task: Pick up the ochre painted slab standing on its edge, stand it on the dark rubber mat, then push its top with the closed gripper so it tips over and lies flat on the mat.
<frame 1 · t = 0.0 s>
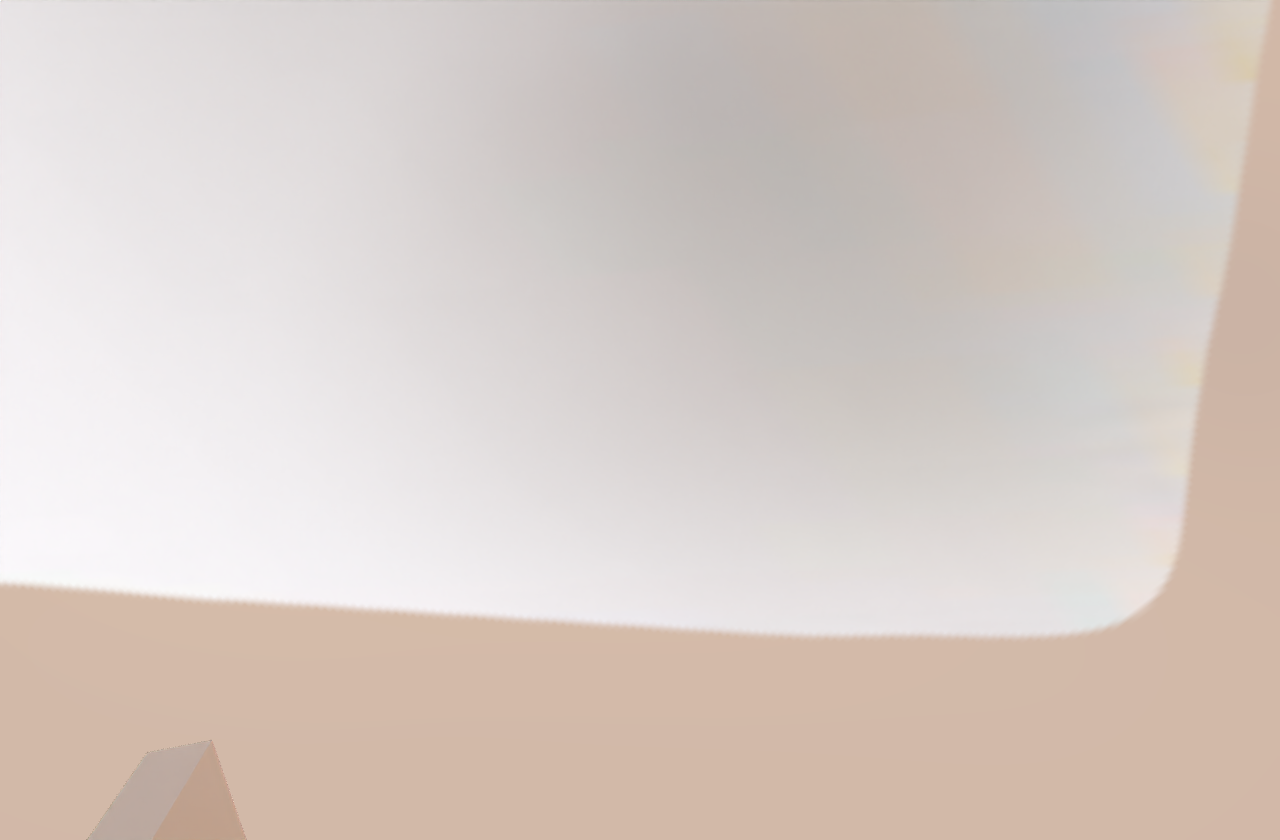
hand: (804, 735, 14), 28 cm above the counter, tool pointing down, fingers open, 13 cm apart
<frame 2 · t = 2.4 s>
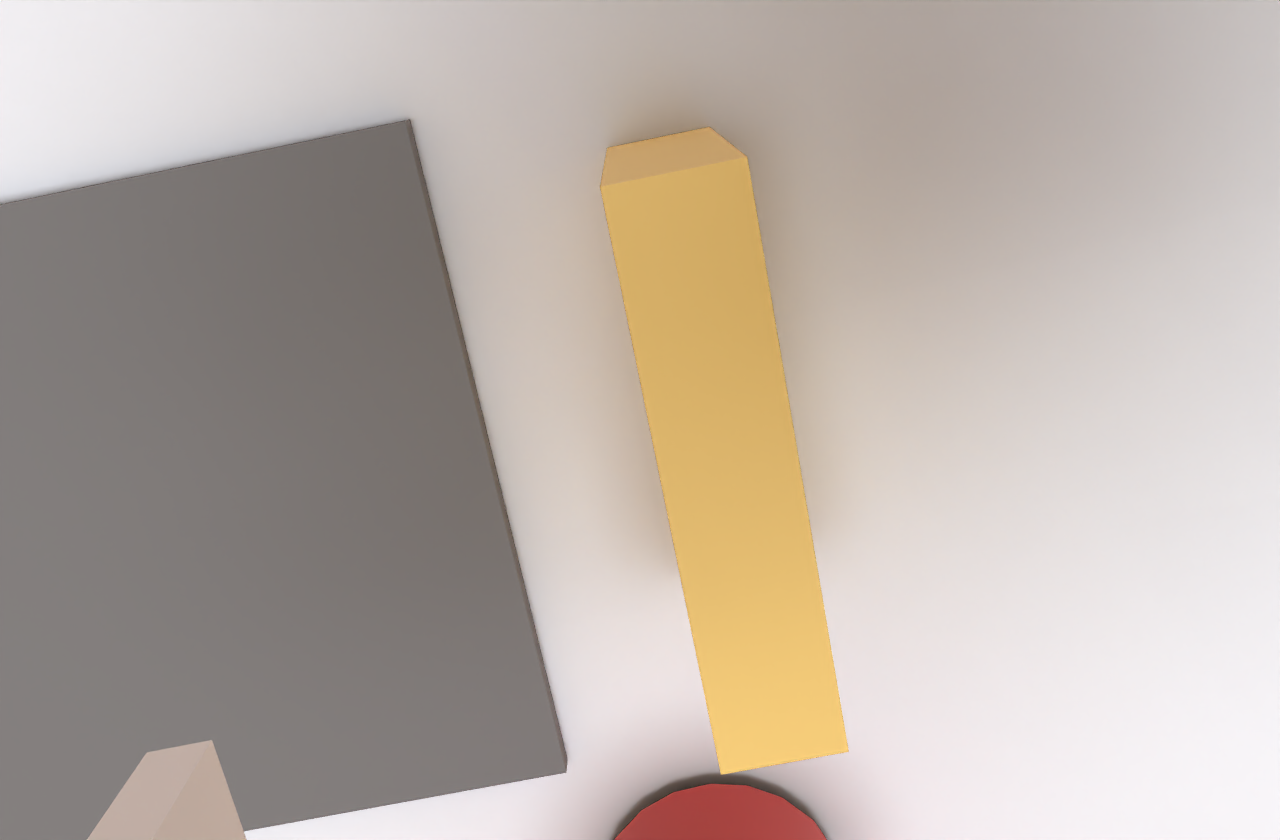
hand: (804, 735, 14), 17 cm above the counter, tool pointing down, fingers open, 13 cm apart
slab: (701, 364, 30), on the counter
mat: (164, 529, 31), on the counter
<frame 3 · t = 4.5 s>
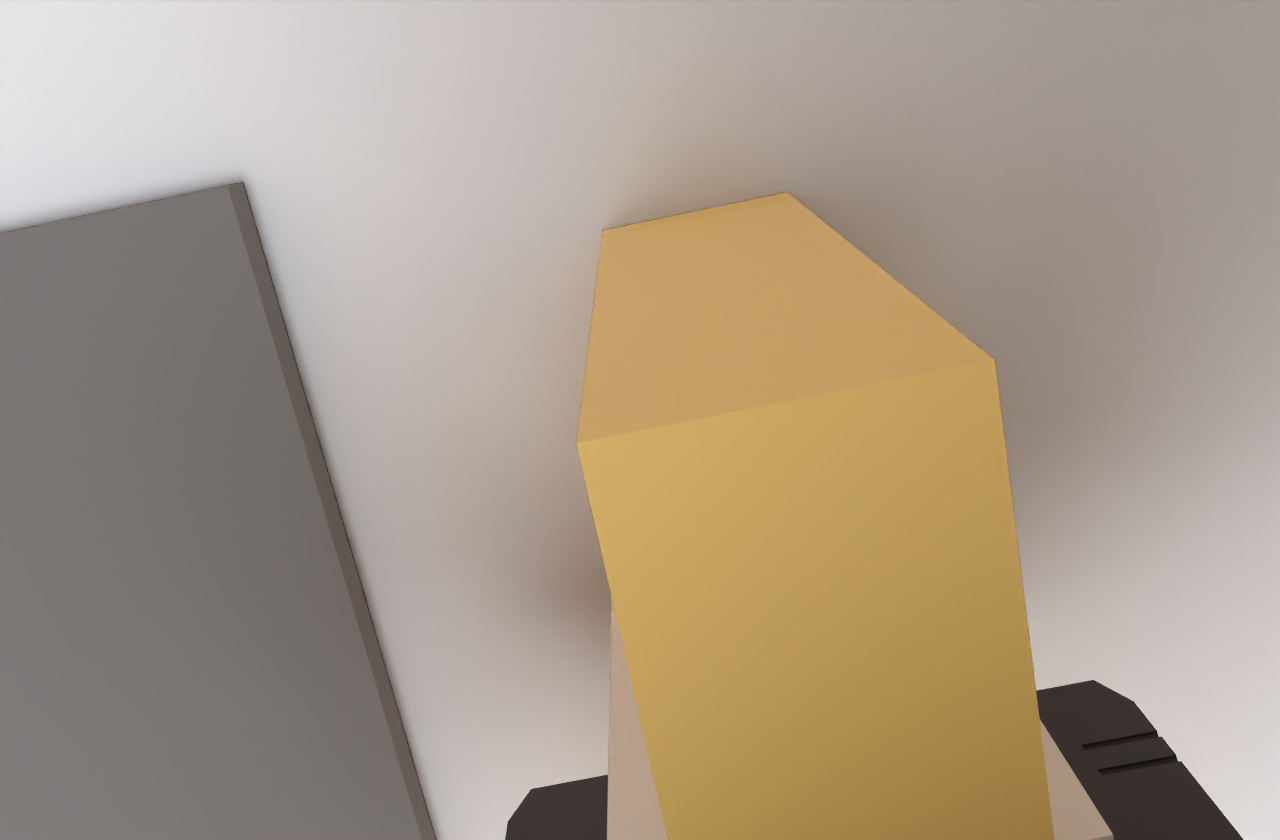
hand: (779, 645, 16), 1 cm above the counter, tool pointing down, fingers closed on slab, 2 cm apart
slab: (768, 598, 17), on the counter, touching gripper
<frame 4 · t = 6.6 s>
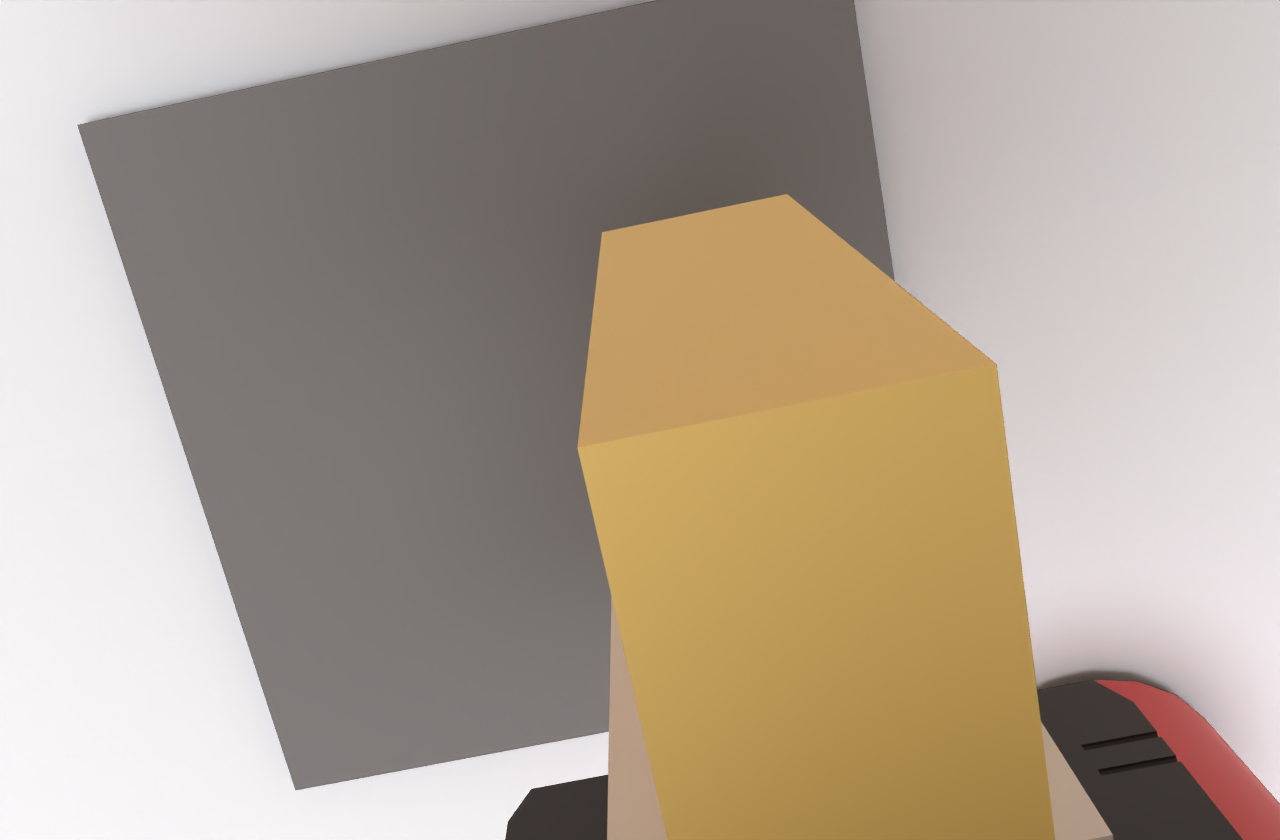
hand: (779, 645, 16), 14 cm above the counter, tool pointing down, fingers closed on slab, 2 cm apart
slab: (767, 600, 17), point 12 cm above the counter, touching gripper
mat: (546, 408, 29), on the counter
beer can: (1087, 775, 32), on the counter
when the fingers open (3 cm above the counter, at t = 8.6 s): slab stays where it is, resting on mat.
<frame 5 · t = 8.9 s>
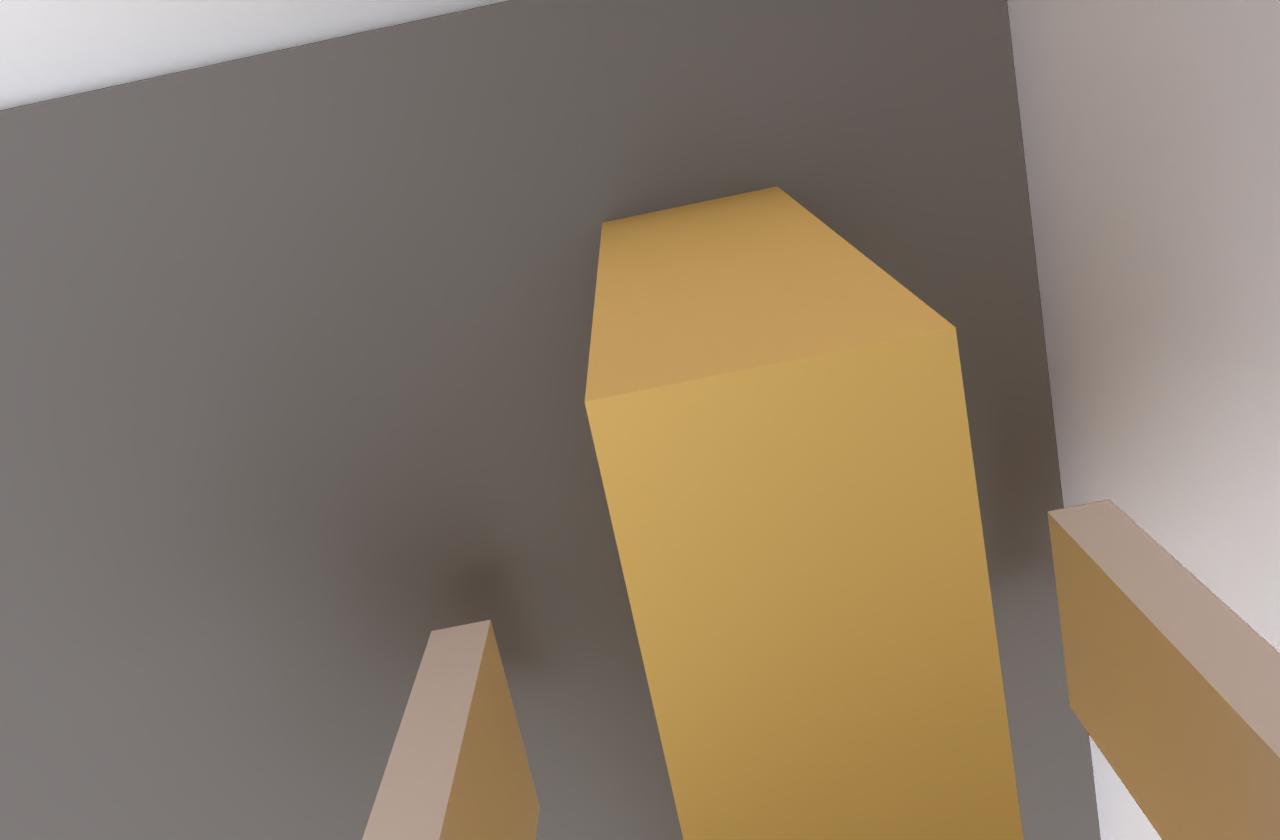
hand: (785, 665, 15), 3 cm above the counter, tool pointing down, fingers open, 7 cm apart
slab: (759, 573, 18), point 1 cm above the counter, touching mat
mat: (499, 606, 19), on the counter
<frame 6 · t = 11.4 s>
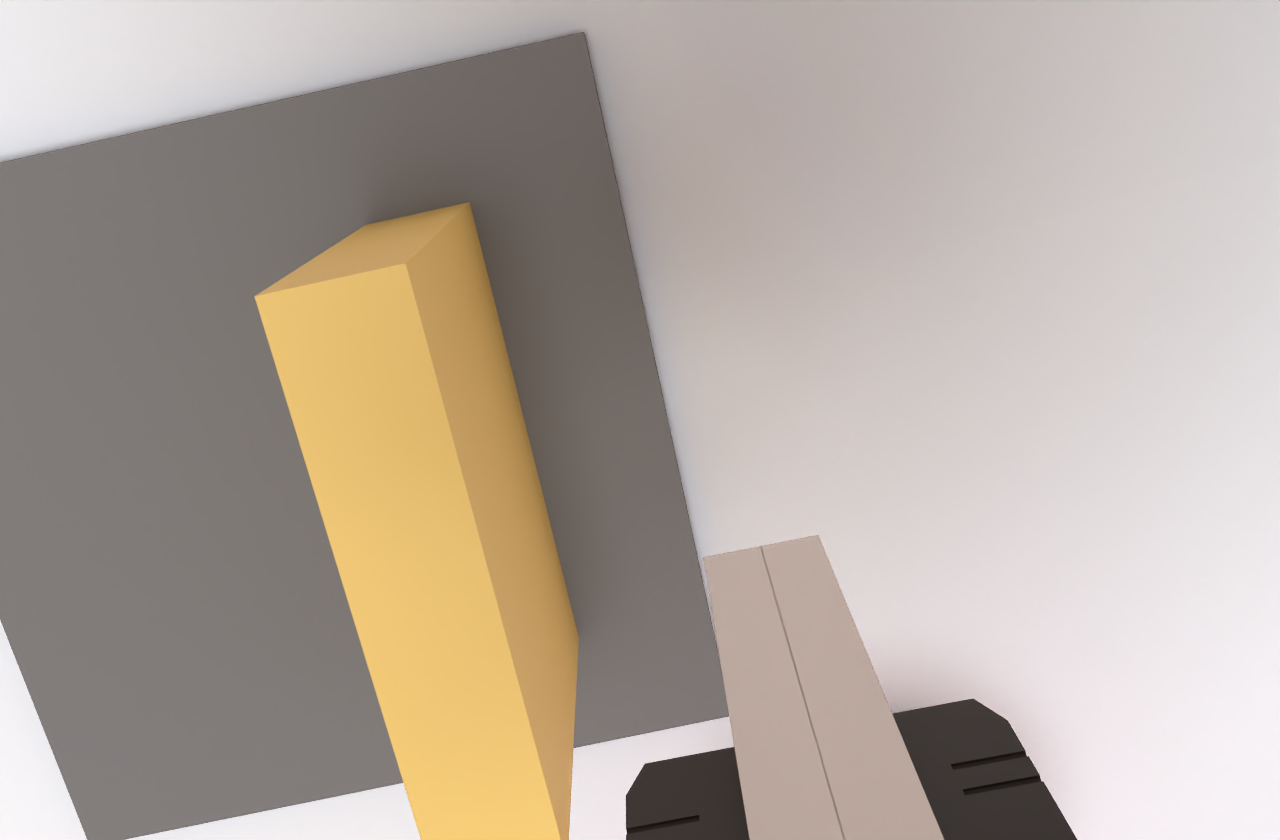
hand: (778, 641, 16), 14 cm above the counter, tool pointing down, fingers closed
slab: (477, 441, 29), point 1 cm above the counter, touching mat
mat: (320, 468, 30), on the counter
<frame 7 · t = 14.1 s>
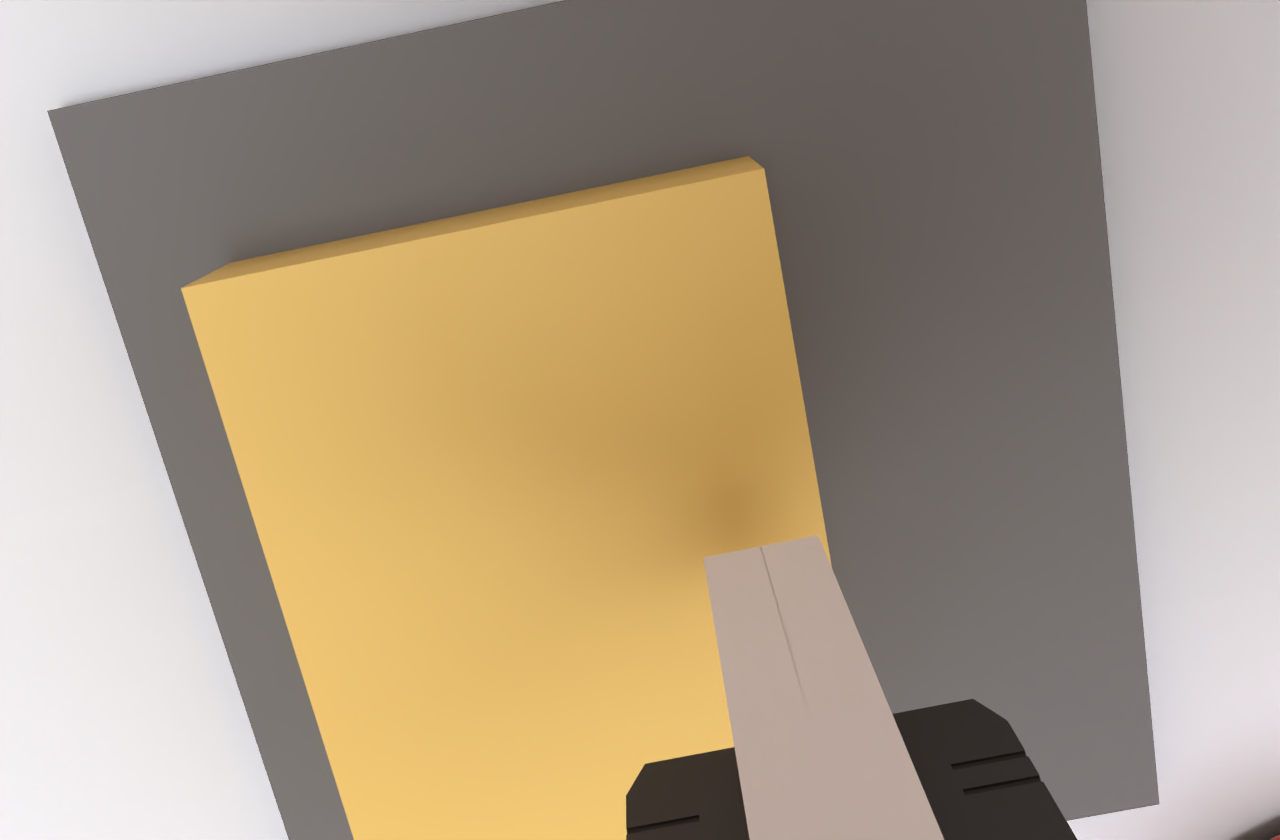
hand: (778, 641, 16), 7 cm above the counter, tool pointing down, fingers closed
slab: (810, 483, 21), point 2 cm above the counter, tilted 90°, touching mat
mat: (653, 478, 23), on the counter
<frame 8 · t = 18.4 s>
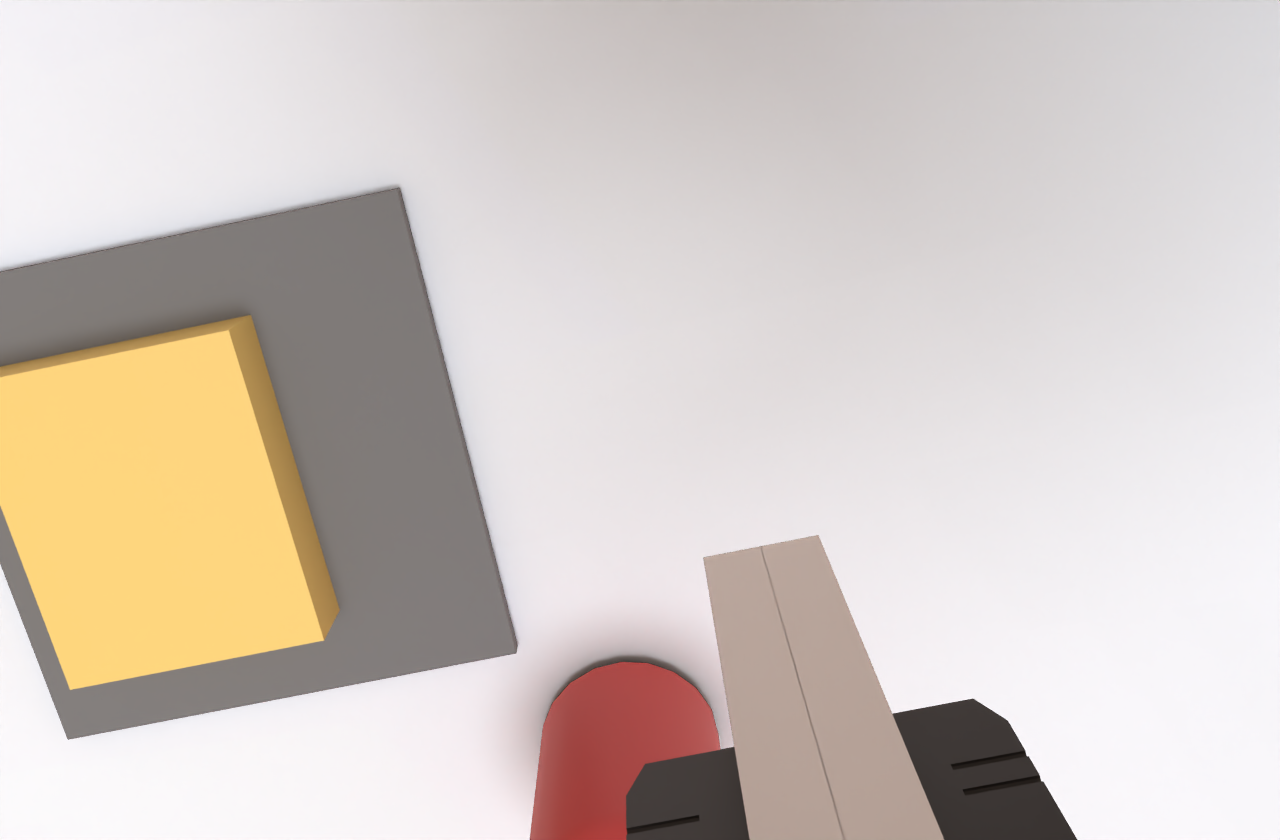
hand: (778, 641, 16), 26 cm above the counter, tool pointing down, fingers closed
slab: (287, 479, 41), point 2 cm above the counter, tilted 90°, touching mat
mat: (226, 476, 43), on the counter
beer can: (629, 729, 46), on the counter
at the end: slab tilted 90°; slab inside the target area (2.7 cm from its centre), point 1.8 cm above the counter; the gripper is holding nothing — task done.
